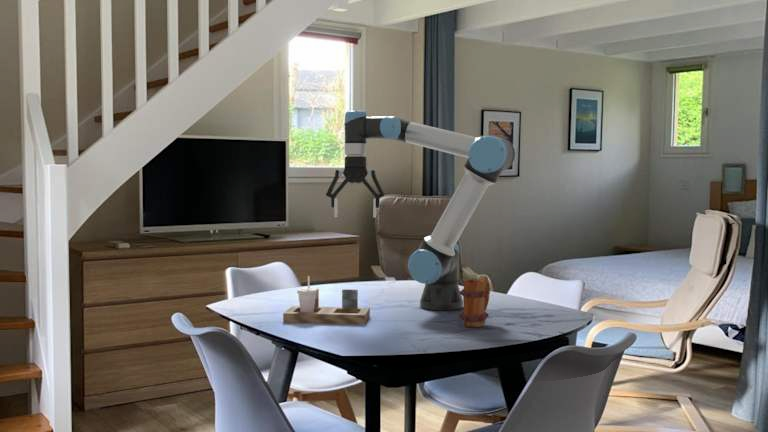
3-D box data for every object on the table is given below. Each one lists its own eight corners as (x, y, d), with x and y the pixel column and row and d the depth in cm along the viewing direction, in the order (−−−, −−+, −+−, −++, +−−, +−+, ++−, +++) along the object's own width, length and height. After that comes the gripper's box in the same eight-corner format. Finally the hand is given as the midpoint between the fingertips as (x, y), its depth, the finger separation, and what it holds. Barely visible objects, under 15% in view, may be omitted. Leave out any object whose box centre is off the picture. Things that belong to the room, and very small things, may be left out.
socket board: (369, 316, 262) (369, 289, 261) (364, 324, 249) (364, 296, 248) (292, 314, 264) (292, 288, 264) (283, 322, 252) (283, 294, 251)
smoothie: (313, 321, 254) (313, 277, 253) (294, 320, 255) (294, 277, 254) (319, 317, 260) (319, 275, 259) (300, 316, 261) (300, 274, 260)
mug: (479, 330, 241) (479, 281, 240) (454, 327, 245) (455, 279, 244) (498, 322, 253) (499, 275, 253) (475, 319, 258) (476, 273, 257)
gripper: (392, 156, 277) (392, 216, 279) (321, 156, 280) (321, 216, 281) (390, 155, 270) (390, 218, 271) (317, 155, 273) (318, 217, 274)
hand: (355, 217), depth 276 cm, fingers open, 13 cm apart
